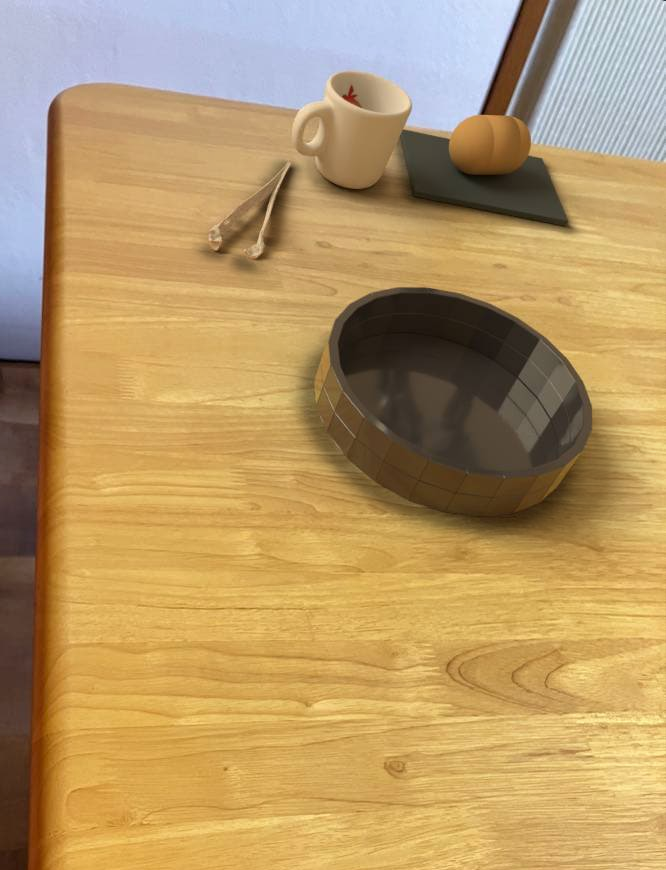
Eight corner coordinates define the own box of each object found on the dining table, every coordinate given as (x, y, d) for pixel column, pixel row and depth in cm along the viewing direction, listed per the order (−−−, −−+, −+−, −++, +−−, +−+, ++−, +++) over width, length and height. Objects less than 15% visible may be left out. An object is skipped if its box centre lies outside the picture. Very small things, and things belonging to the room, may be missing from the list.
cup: (299, 201, 80) (323, 115, 74) (265, 153, 84) (284, 68, 78) (399, 197, 84) (428, 115, 78) (362, 151, 88) (387, 70, 82)
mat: (539, 163, 95) (542, 158, 95) (565, 226, 88) (568, 221, 87) (399, 134, 92) (401, 128, 92) (413, 196, 85) (415, 190, 85)
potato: (501, 163, 93) (518, 108, 90) (530, 182, 90) (549, 127, 86) (432, 162, 90) (447, 106, 86) (460, 183, 86) (477, 125, 83)
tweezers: (257, 267, 72) (262, 245, 71) (203, 248, 73) (207, 225, 71) (309, 185, 84) (315, 165, 83) (263, 168, 85) (267, 148, 83)
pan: (532, 353, 73) (557, 310, 70) (590, 537, 61) (624, 495, 58) (306, 315, 70) (321, 268, 66) (320, 502, 58) (339, 455, 54)
